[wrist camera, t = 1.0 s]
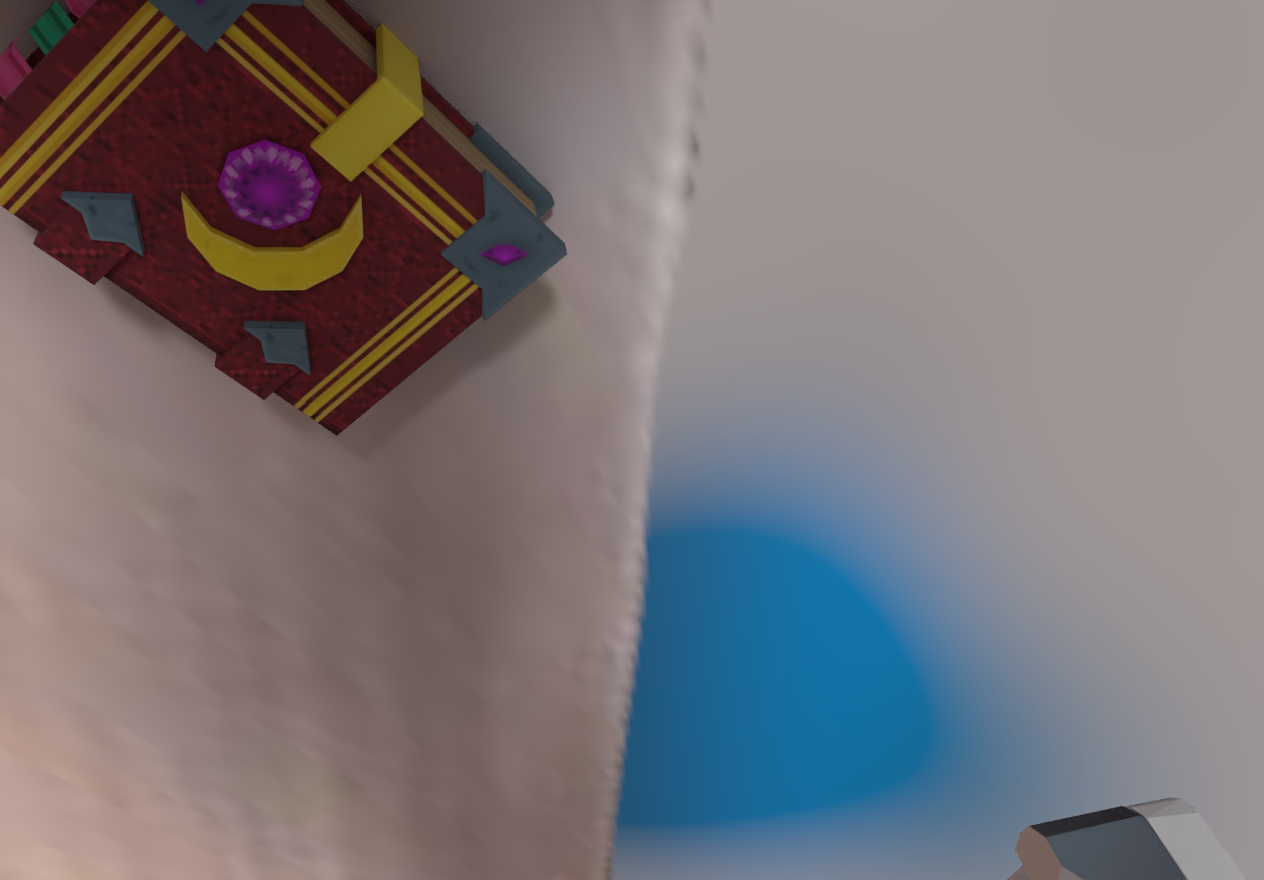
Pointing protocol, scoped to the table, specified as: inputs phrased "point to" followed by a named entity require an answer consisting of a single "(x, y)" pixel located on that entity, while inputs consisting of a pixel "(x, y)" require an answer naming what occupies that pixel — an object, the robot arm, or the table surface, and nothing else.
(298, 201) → the decorative book
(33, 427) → the table surface
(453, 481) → the table surface
